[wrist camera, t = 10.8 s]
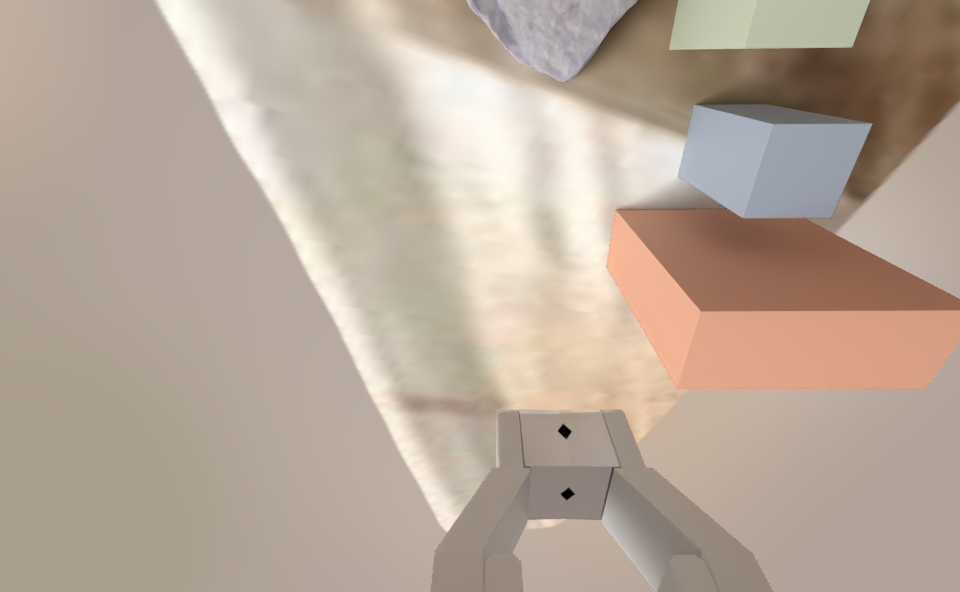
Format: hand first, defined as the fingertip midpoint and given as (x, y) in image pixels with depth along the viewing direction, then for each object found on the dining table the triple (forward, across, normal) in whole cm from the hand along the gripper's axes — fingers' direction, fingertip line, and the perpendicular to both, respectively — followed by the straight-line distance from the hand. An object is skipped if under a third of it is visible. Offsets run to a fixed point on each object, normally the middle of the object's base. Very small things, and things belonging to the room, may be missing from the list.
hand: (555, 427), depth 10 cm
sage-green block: (+31, -16, -11) cm, 37 cm away
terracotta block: (+31, -19, +8) cm, 37 cm away
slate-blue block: (+31, -19, -1) cm, 36 cm away
